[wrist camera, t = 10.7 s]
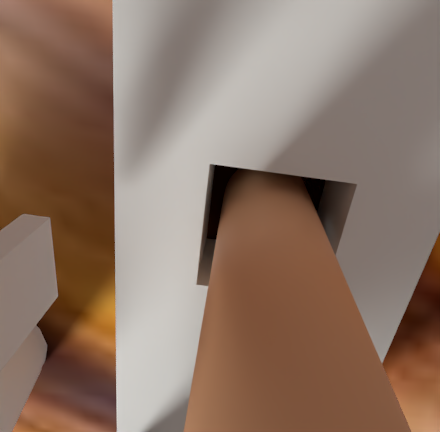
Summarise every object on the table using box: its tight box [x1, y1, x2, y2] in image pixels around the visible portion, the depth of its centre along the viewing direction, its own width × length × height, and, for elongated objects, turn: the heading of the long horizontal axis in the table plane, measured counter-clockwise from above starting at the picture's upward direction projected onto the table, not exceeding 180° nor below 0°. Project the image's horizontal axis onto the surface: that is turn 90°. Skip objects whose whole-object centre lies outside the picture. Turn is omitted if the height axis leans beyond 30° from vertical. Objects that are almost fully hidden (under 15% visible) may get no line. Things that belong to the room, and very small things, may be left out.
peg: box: [184, 168, 411, 432], centre depth 11 cm, size 4×4×14 cm
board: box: [113, 0, 440, 432], centre depth 16 cm, size 26×12×4 cm, turn 173°
